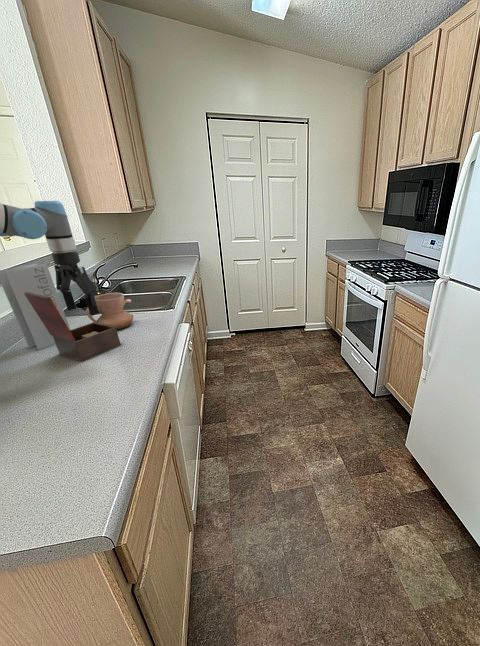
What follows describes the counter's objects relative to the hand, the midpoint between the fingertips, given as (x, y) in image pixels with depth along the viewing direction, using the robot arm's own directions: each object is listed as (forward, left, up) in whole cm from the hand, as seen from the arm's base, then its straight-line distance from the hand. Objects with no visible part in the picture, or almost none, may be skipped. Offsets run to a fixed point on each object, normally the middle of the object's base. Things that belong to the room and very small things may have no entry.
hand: (83, 311), depth 121 cm
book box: (-1, -2, -15) cm, 15 cm away
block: (0, 0, -14) cm, 14 cm away
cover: (-4, -10, +2) cm, 11 cm away
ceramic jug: (-5, +22, -15) cm, 27 cm away
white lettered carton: (-22, +5, -15) cm, 27 cm away
